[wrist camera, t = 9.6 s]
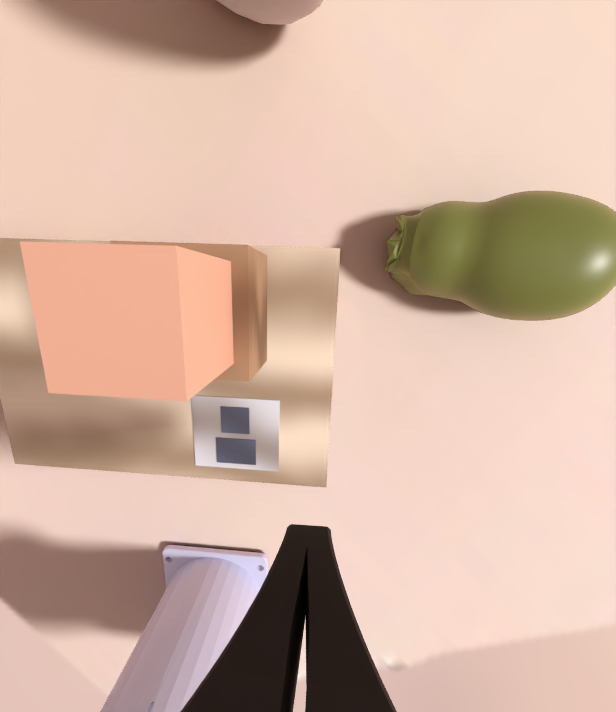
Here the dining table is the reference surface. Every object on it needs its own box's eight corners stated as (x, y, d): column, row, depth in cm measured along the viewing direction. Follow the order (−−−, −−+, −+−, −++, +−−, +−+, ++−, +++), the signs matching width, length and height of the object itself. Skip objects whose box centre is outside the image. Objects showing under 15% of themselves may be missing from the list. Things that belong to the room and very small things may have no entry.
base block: (267, 360, 17) (249, 381, 13) (170, 355, 17) (125, 374, 14) (267, 255, 16) (247, 245, 12) (162, 252, 16) (109, 241, 12)
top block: (233, 363, 13) (186, 401, 9) (139, 358, 13) (48, 393, 9) (230, 261, 12) (176, 245, 8) (129, 258, 12) (19, 241, 8)
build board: (326, 479, 20) (326, 488, 19) (26, 457, 21) (12, 465, 20) (339, 250, 16) (340, 247, 15) (-21, 239, 17) (-41, 236, 16)
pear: (633, 339, 11) (374, 299, 13) (553, 324, 16) (374, 297, 18) (703, 179, 10) (401, 161, 12) (591, 218, 15) (394, 201, 17)
